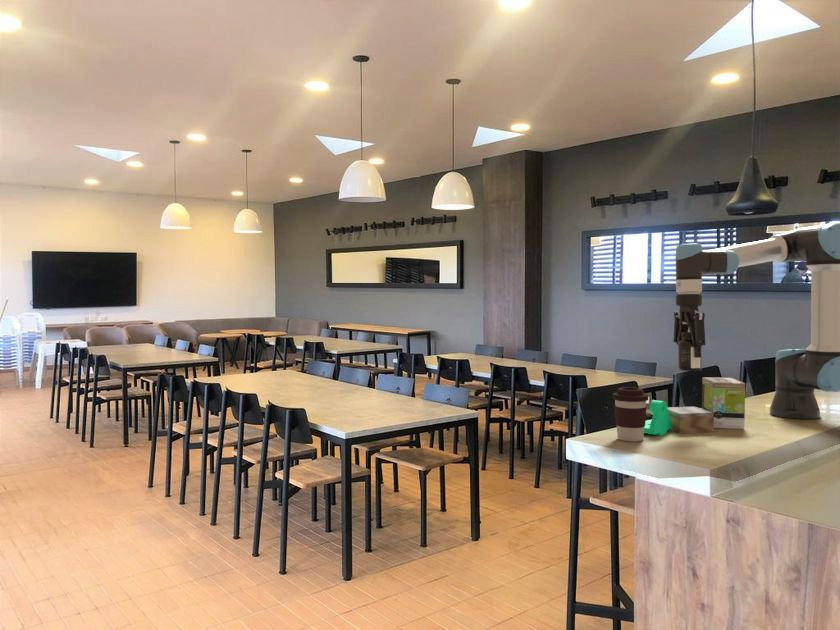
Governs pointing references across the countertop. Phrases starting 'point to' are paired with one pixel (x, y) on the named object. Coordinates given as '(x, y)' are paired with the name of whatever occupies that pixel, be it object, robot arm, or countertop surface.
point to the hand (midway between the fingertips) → (689, 366)
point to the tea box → (724, 401)
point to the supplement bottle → (686, 353)
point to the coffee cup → (630, 413)
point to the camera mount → (658, 419)
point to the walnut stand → (691, 419)
